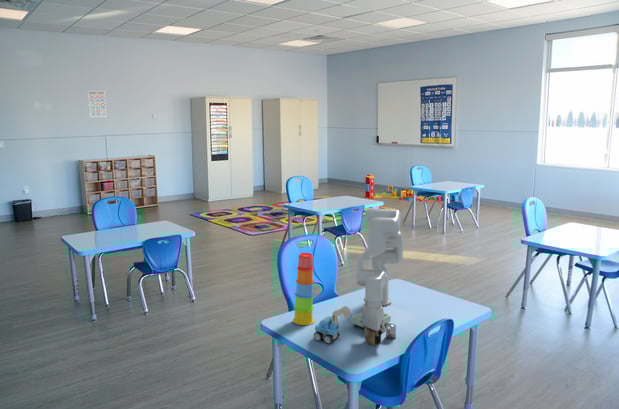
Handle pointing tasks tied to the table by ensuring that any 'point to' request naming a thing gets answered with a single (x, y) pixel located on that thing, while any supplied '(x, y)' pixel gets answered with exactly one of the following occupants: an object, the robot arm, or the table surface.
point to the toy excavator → (330, 326)
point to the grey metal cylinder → (391, 331)
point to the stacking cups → (304, 290)
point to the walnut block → (370, 336)
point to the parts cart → (358, 318)
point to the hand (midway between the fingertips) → (373, 340)
